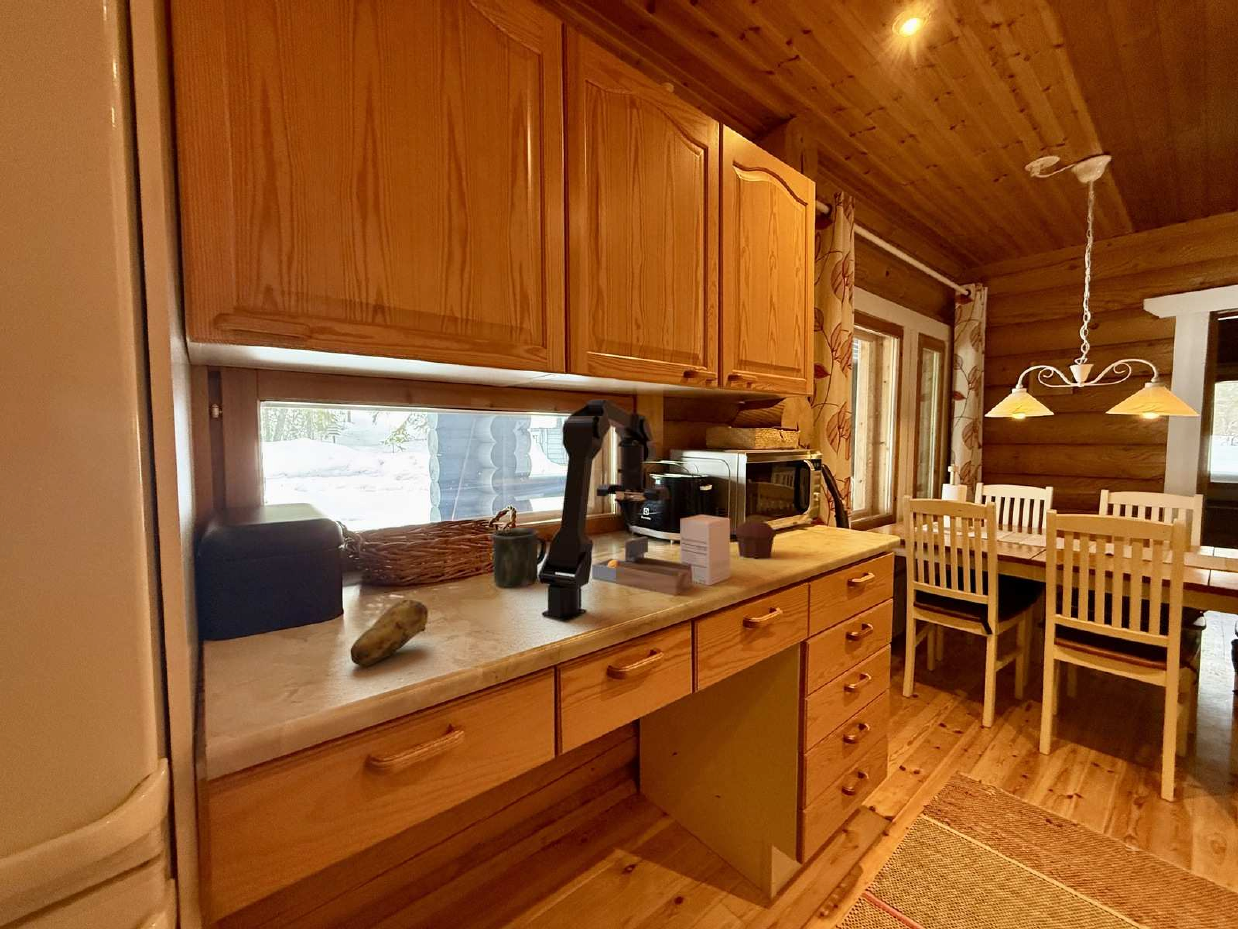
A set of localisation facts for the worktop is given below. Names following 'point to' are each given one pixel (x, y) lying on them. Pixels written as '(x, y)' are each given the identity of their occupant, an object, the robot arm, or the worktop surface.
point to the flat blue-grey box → (604, 571)
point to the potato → (390, 632)
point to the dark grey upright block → (636, 550)
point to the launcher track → (655, 575)
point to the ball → (612, 563)
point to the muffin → (755, 539)
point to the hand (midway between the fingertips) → (632, 526)
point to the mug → (517, 556)
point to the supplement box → (706, 547)
